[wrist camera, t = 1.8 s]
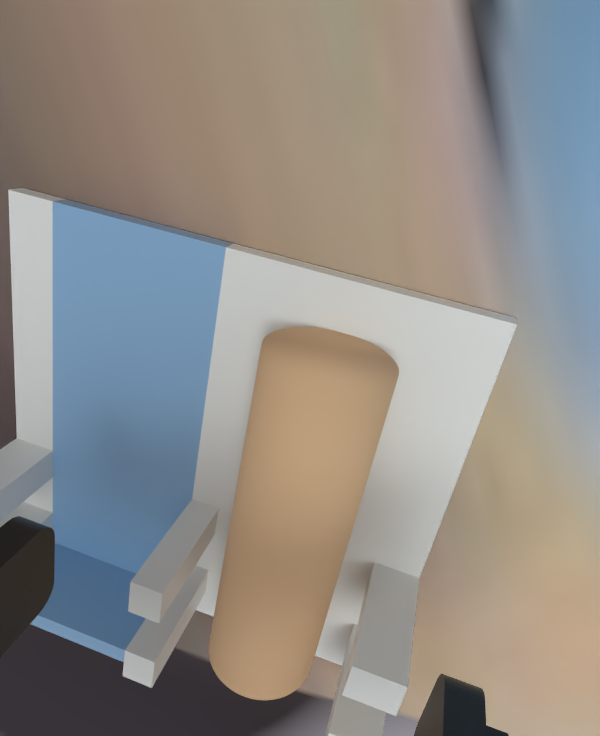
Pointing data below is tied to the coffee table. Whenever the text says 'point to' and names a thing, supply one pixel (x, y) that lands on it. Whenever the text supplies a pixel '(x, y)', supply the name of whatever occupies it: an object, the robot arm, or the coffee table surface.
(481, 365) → the cylinder holder rack
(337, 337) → the tan rounded cylinder
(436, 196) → the coffee table surface
